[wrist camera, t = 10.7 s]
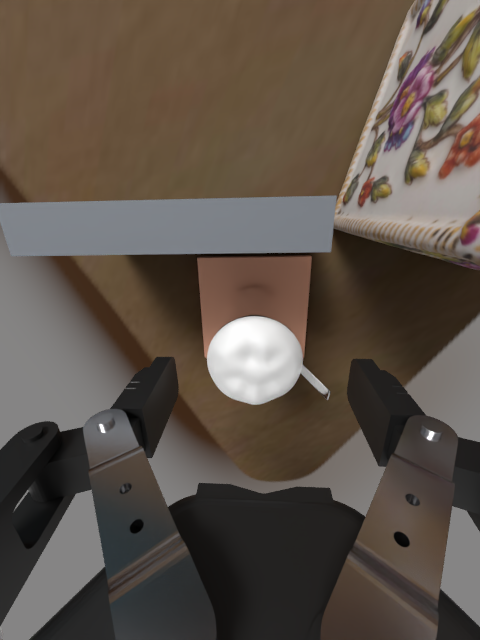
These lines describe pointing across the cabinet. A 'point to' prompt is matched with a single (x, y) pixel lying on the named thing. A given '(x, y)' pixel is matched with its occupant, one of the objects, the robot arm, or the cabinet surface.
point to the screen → (170, 226)
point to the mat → (260, 271)
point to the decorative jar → (423, 141)
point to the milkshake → (257, 351)
